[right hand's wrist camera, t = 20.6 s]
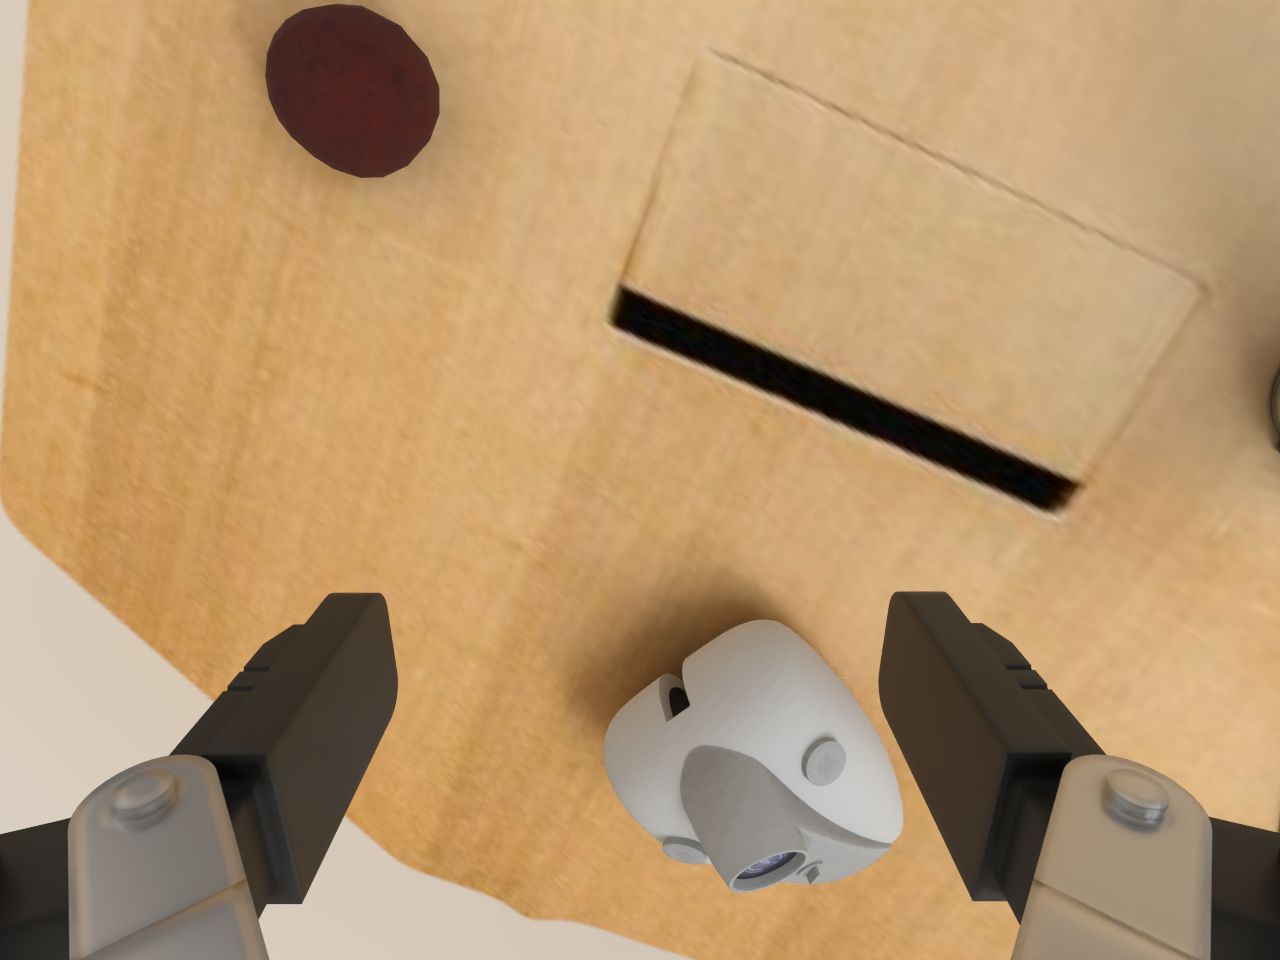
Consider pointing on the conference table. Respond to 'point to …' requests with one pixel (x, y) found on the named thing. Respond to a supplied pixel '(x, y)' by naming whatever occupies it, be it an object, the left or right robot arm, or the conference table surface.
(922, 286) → the conference table surface
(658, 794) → the projector
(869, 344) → the conference table surface
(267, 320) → the conference table surface
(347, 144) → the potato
